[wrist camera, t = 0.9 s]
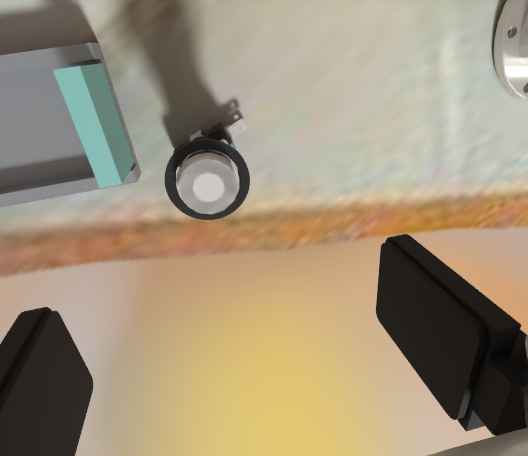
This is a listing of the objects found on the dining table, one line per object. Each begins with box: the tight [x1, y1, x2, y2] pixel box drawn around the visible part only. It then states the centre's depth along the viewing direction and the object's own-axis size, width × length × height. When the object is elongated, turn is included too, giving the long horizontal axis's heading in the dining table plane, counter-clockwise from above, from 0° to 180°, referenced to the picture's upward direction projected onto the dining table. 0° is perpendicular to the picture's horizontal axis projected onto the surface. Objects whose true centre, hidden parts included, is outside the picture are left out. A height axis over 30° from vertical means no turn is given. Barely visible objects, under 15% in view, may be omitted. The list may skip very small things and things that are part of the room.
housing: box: [0, 42, 141, 207], centre depth 25 cm, size 13×10×2 cm
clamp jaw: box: [53, 63, 134, 188], centre depth 23 cm, size 2×7×5 cm, turn 7°
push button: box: [165, 119, 250, 220], centre depth 25 cm, size 7×5×10 cm
